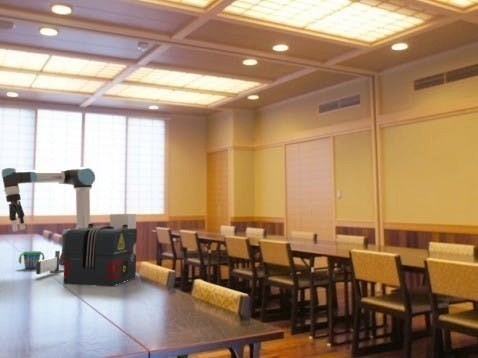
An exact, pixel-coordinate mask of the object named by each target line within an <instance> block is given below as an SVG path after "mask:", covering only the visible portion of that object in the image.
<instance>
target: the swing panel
mask: <svg viewBox="0 0 478 358" xmlns="http://www.w3.org/2000/svg"><path fill="white" fill-rule="evenodd" d="M35 269H36V273H35V274H36V275H41V274H44V273H45V274H46V273H47V272H50V271H52V270H55V269H57V257H55V256H54V257H49V258H46V259H45V258H44V260H42V259H41V260H40V259H39V261H37V266H36V268H35Z"/></svg>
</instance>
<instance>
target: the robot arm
mask: <svg viewBox="0 0 478 358" xmlns="http://www.w3.org/2000/svg"><path fill="white" fill-rule="evenodd" d="M1 177H2V182H3V186H4V189H3V191H4V192H5V193H4V194H5V195H6V196H5V199H6V202H7V203H9V204H8V212H9V215H8V217H9V220H10V221H11V226H12V232H18V231H19V230H20V231H22V230H26V225H25V218H24V217H25V216H26V215H25V212H24V210H23V207H22V205H21V200H22V199H21V194H20V187H19V184H47V183H51V184H52V183H56V184H57V183H58V184H60V185H69V186H72V187H73V189H74V190H75V204H76V208H75V211H76V213H75V214H76V217H75V218H76V226H75V228H74V229H78V228H88V224H91V212H90V211H91V204H90V203H91V202H90V201H91V200H90V195H91V194H90V191H91V189H92V188H93V187H92V186H93V184H94V182H95V180H96V175H95V172H94V171H93V170H92V169H91V168H89V167H84V166H83V167H72V168H67V169H58V170H52V171H51V170H44V171H43V170H33V169H32V170H31V169H28V170H17V169H16V168H15V167H5V168H3V169H2V170H1ZM17 220H18V221H17ZM18 224H19V225H18ZM70 229H71V228H70ZM70 229H64V230H62V234H61V239H62V242H61V254H60V257H59V265H64V253H65V236H66V233H67V232H68V230H70Z"/></svg>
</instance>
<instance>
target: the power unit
mask: <svg viewBox="0 0 478 358" xmlns="http://www.w3.org/2000/svg"><path fill="white" fill-rule="evenodd" d="M122 227H123V228H114V227H112V226H110V225H96V226H94V223H90V224H88V228H78V229H75V228H70V230H68V229H67V230H68V232H67V233H66V236H65V253H64V264H63V270H64V272H63V284H64V285H76V286H77V285H78V286H92V285H96V286H95V287H111V286H113V287H115V286H114V285H116V284H119V283H121V284H123V283H122V282H124V281H127V280H130V279H132V278H135V277H136V276H137V273H136V271H137V255H136V253H135V254H133V245H134V244H135V245H136V243H137V241H138V240H137V239H138V236H137V235H138V228H137V227H136V228H130V229H129V228H128V225H123V226H122ZM136 278H137V277H136ZM136 278H135V279H136ZM132 280H133V279H132ZM130 281H131V280H130ZM127 282H128V281H127ZM124 283H125V282H124ZM119 285H120V284H119ZM116 286H117V285H116Z"/></svg>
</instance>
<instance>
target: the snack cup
mask: <svg viewBox="0 0 478 358" xmlns="http://www.w3.org/2000/svg"><path fill="white" fill-rule="evenodd" d="M19 255H20V256H19V258H18V262H19V264H22V257H23V262H24V263H23V264H24V268H25V269H27V270H28V269H30V270H31V269H36V266H37V261H40V259H41V258H42V259H41V260H44V259H45V254H44V252H42V251H39V250H33V251H32V250H29V251H26V250H25V251H22V253H20V254H19ZM41 255H42V257H41Z"/></svg>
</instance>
